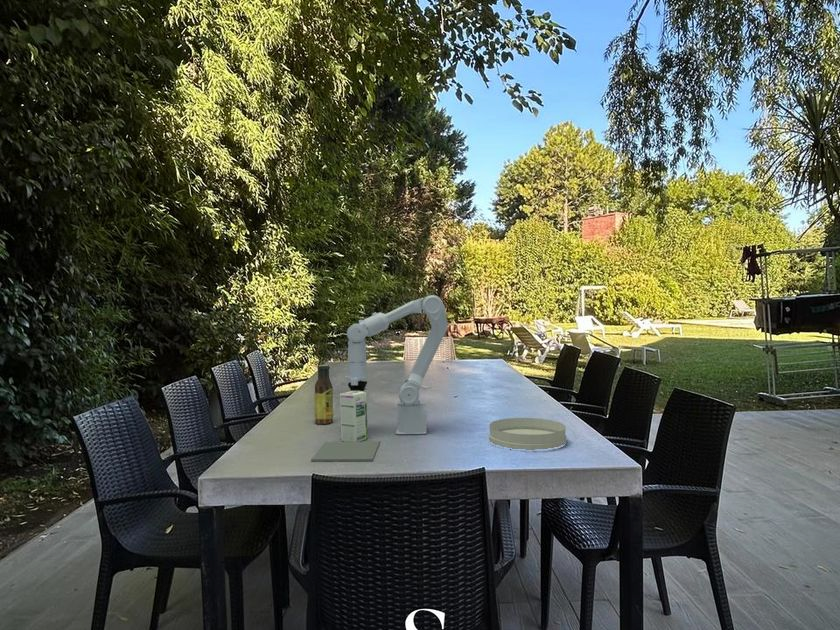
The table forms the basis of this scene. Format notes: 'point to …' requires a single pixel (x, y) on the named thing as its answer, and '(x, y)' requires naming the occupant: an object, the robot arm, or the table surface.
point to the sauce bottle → (323, 396)
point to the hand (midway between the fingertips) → (358, 404)
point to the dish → (527, 433)
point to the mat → (346, 451)
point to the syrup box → (353, 416)
